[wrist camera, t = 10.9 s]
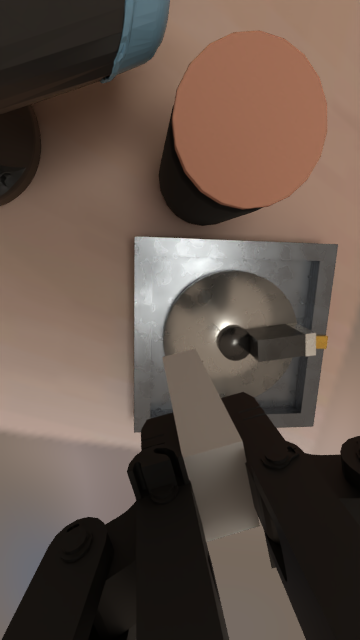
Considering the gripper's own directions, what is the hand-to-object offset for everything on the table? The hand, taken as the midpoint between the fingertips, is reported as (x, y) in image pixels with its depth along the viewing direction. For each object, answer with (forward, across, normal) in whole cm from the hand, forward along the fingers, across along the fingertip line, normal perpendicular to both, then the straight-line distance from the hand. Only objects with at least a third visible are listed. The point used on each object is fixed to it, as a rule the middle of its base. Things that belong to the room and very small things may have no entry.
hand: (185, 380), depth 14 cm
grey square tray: (+27, +8, -8) cm, 29 cm away
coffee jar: (+28, +9, +11) cm, 31 cm away
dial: (+25, +8, -8) cm, 27 cm away
